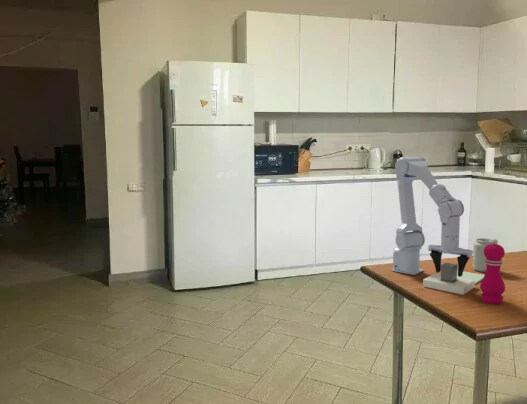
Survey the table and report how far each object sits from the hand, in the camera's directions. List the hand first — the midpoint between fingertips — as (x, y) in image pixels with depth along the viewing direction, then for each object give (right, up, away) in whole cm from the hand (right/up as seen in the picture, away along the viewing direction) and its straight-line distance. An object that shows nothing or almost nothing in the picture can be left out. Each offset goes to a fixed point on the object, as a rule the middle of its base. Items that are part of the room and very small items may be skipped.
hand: (449, 274), depth 170 cm
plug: (0, -5, +1) cm, 5 cm away
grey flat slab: (0, -5, +1) cm, 5 cm away
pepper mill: (+8, -7, -14) cm, 17 cm away
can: (+21, -2, +20) cm, 28 cm away
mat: (+10, -3, +11) cm, 15 cm away
